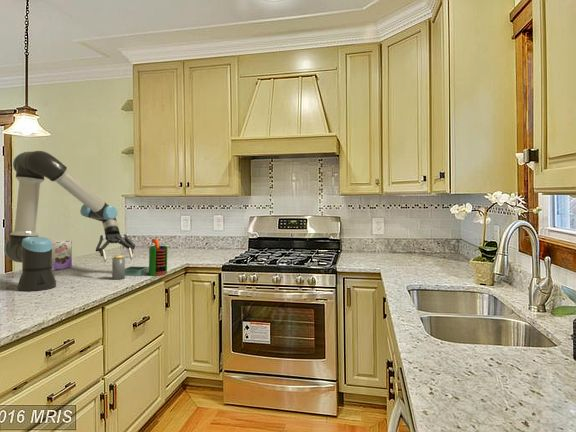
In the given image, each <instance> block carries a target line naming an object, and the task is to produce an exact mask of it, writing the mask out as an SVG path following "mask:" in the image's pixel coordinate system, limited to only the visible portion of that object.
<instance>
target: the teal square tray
mask: <svg viewBox="0 0 576 432" xmlns="http://www.w3.org/2000/svg"><path fill="white" fill-rule="evenodd" d="M146 275H149V266H128V267H125V276H126V277H127V276H128V277H129V276H130V277H131V276H132V277H133V276H134V277H142V276H146Z"/></svg>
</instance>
